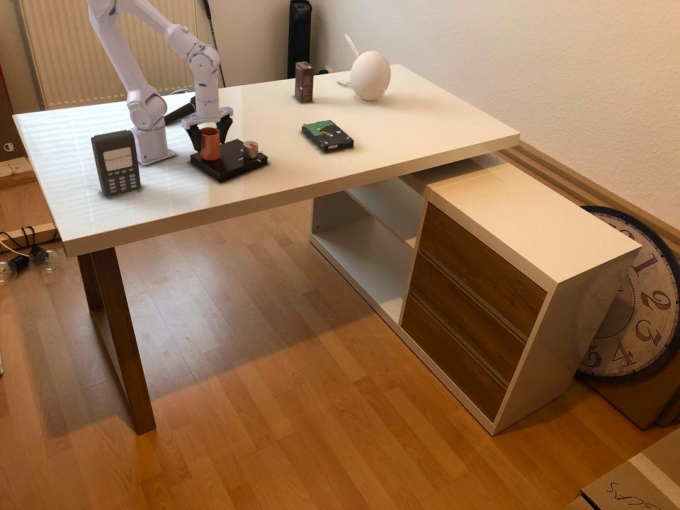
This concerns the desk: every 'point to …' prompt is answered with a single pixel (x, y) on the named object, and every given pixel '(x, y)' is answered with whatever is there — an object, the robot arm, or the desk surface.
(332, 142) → the disk drive
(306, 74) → the box
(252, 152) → the dial
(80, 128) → the desk surface
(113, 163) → the card reader
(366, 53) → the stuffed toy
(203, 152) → the cup
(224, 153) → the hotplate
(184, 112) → the microphone
